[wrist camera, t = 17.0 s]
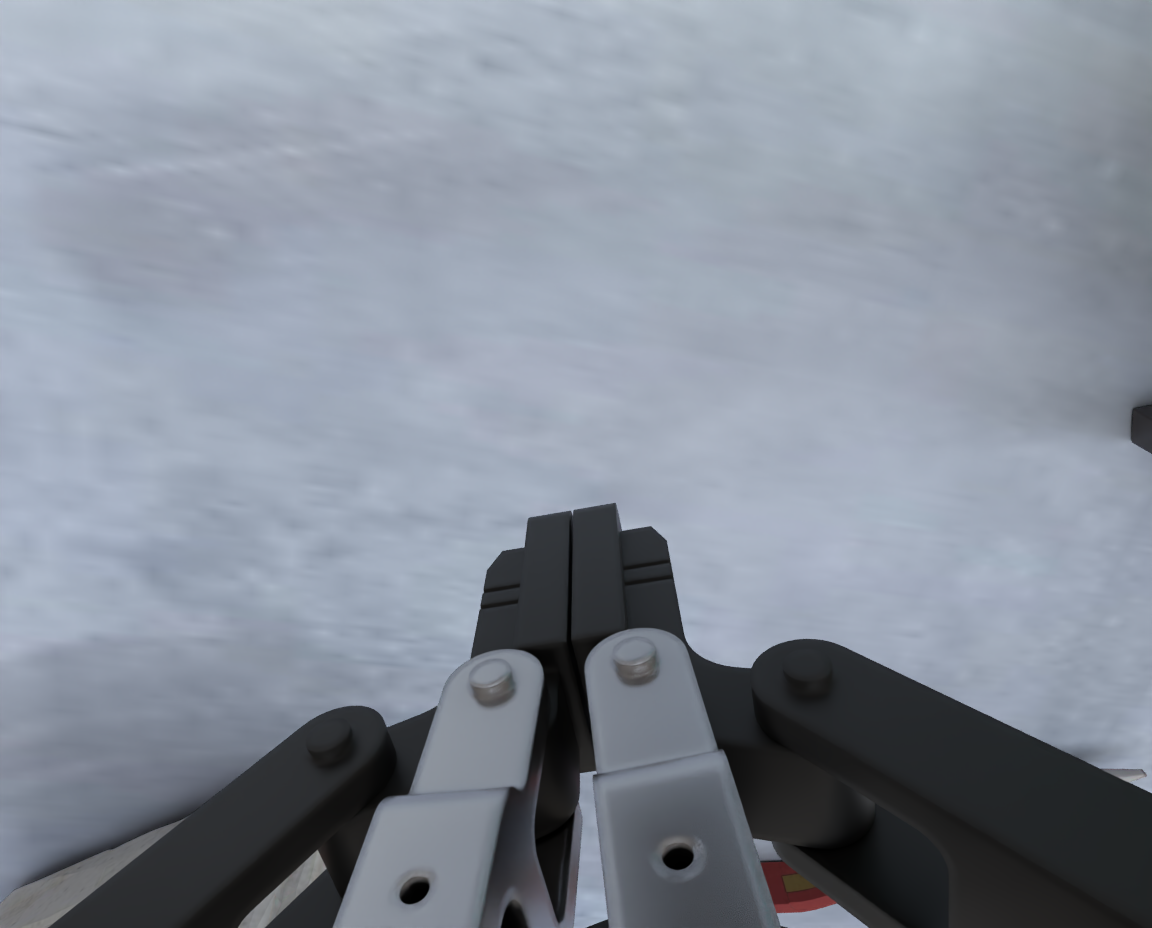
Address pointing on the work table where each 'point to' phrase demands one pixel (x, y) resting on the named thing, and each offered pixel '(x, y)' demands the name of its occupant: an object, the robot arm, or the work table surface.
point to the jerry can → (43, 902)
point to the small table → (1142, 428)
